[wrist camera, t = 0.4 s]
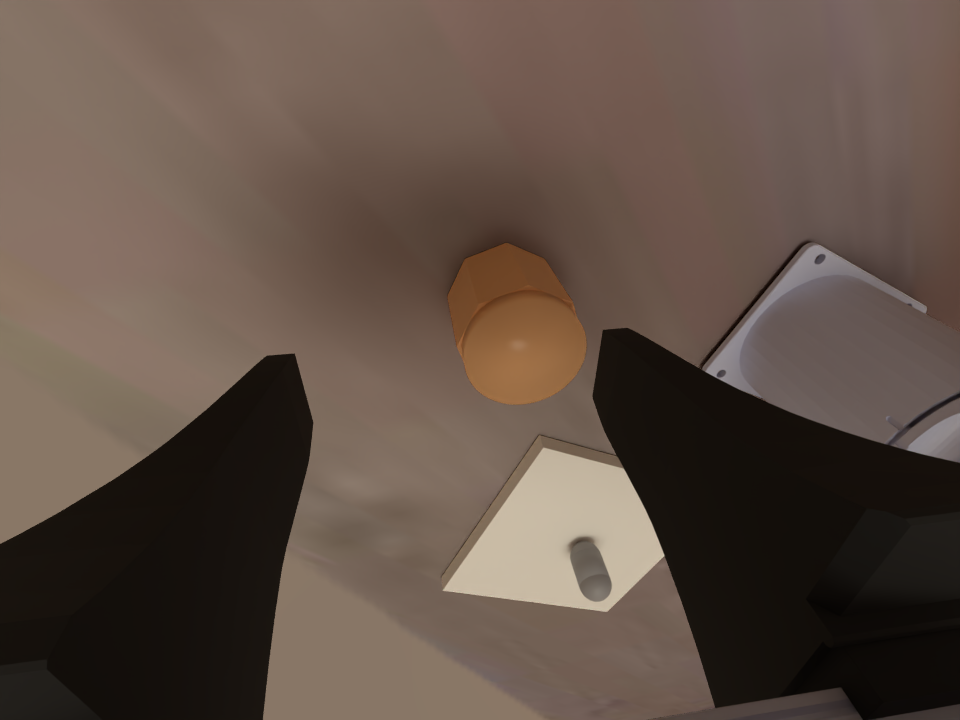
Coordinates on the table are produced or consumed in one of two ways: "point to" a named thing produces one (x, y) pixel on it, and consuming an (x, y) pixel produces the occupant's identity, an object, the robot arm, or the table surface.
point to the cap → (515, 326)
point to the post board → (559, 533)
